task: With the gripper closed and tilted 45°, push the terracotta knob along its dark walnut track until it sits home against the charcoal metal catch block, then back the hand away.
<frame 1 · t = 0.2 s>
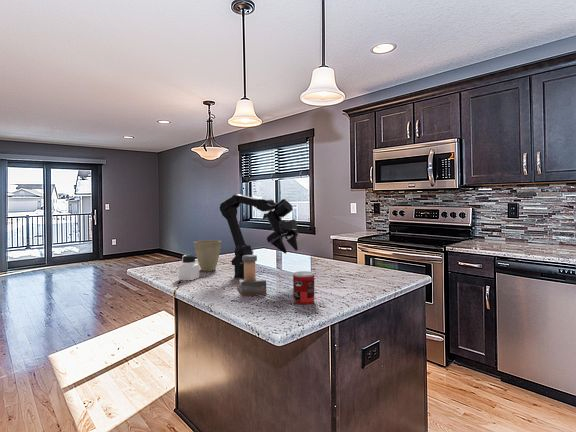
hand: (291, 251, 164), 15 cm above the countertop, tool tilted 35°, fingers open, 9 cm apart
knob mount: (251, 290, 154), on the countertop
knob: (249, 270, 156), point 8 cm above the countertop, slide at 5.0 cm
medicine bottle: (189, 279, 178), on the countertop
plant pot: (208, 270, 199), on the countertop
canned food: (303, 302, 136), on the countertop
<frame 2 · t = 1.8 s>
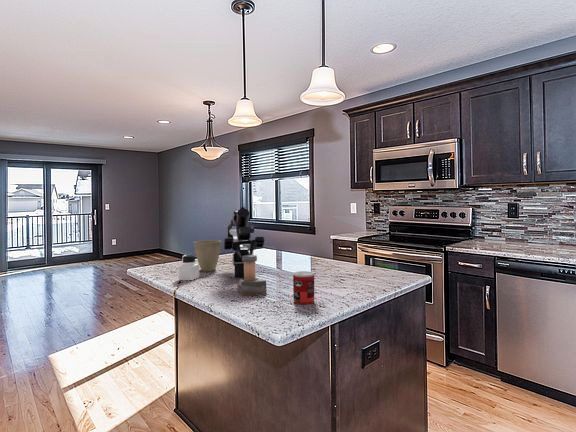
hand: (246, 257, 164), 13 cm above the countertop, tool tilted 45°, fingers open, 4 cm apart
nothing on the countertop moved.
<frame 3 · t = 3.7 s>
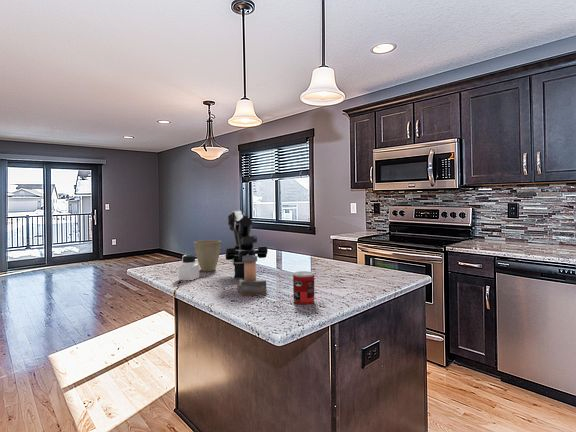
hand: (249, 268, 158), 9 cm above the countertop, tool tilted 45°, fingers closed, pressing on knob
knob: (250, 270, 155), point 8 cm above the countertop, slide at 4.0 cm, touching gripper
everything else where it was.
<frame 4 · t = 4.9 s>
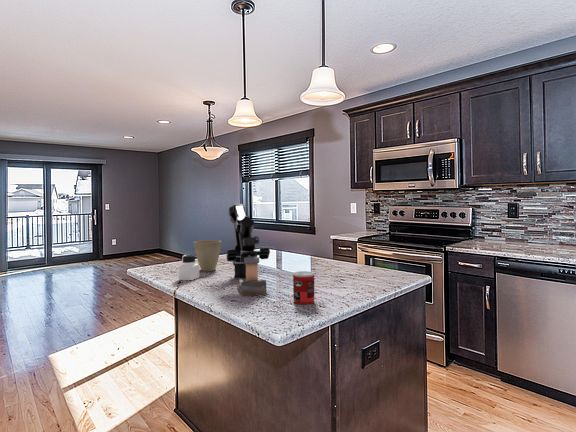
hand: (250, 270, 154), 9 cm above the countertop, tool tilted 45°, fingers closed, pressing on knob
knob: (251, 273, 151), point 8 cm above the countertop, slide at -0.3 cm, touching gripper, knob mount
everything else where it was.
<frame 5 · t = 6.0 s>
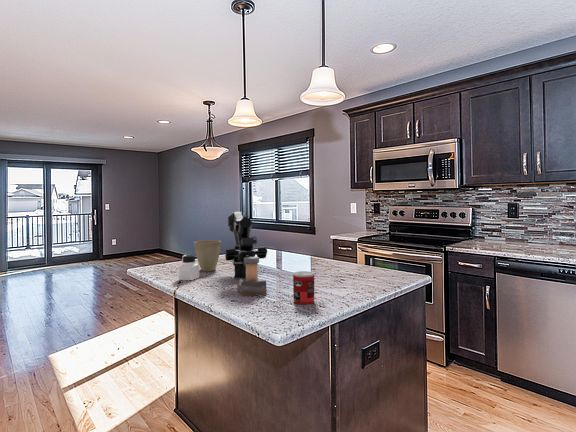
hand: (248, 269, 159), 8 cm above the countertop, tool tilted 45°, fingers closed
knob: (251, 272, 151), point 8 cm above the countertop, slide at 0.0 cm
everything else where it was.
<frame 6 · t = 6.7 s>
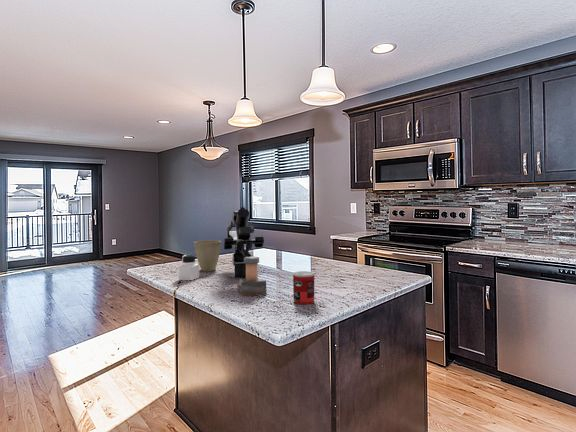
hand: (246, 257, 165), 12 cm above the countertop, tool tilted 45°, fingers closed
nothing on the countertop moved.
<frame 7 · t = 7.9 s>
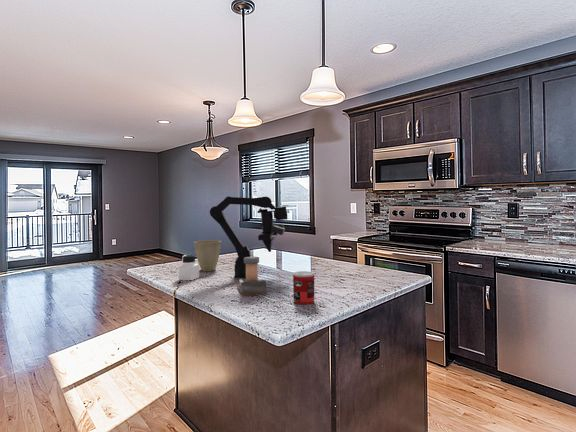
hand: (269, 251, 182), 12 cm above the countertop, tool pointing down, fingers closed
nothing on the countertop moved.
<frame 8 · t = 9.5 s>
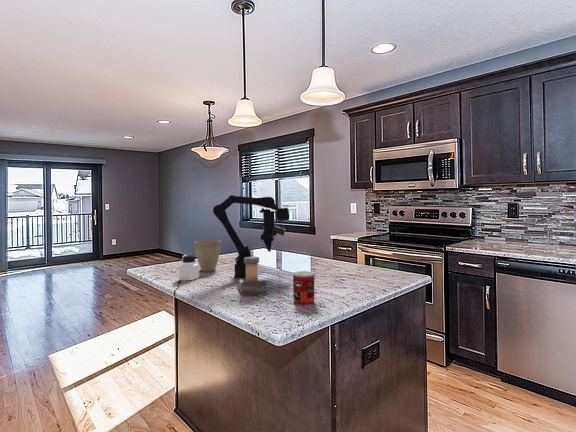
hand: (269, 251, 184), 12 cm above the countertop, tool pointing down, fingers closed
nothing on the countertop moved.
at the end: knob slide at 0.0 cm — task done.
